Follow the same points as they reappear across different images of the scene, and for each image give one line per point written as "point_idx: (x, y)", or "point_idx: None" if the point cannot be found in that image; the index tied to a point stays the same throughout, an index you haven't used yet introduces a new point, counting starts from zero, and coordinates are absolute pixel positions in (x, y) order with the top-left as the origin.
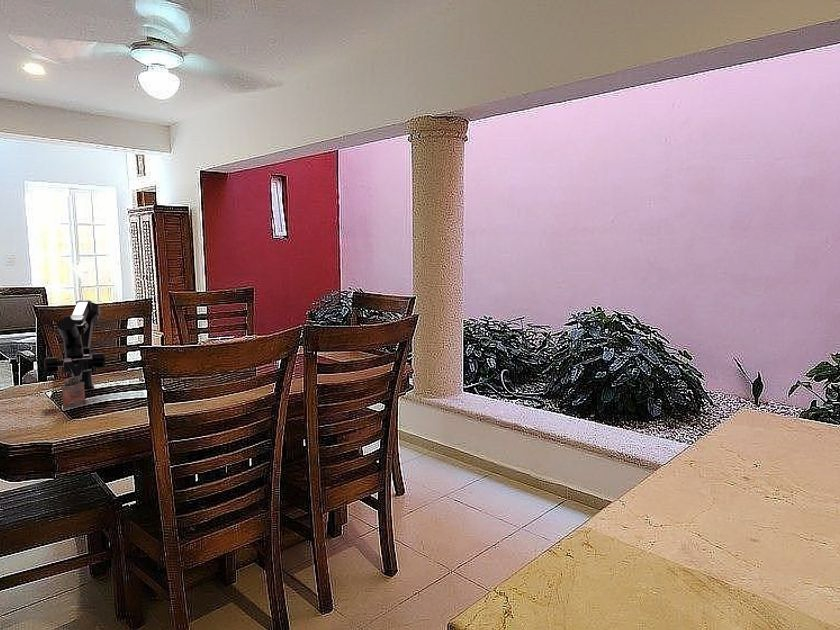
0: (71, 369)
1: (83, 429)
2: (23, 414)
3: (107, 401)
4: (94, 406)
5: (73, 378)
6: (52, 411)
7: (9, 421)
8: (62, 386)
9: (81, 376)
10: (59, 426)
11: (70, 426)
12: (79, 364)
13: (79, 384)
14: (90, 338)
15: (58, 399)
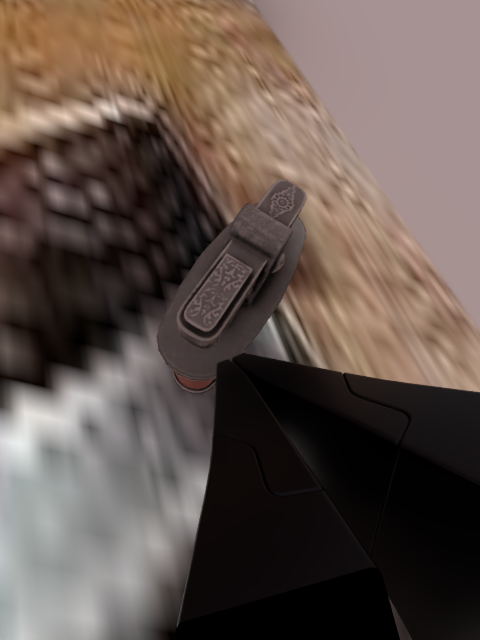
0: (392, 382)
1: (84, 8)
2: (370, 238)
3: (39, 381)
4: (103, 278)
5: (237, 221)
6: None
7: (362, 167)
8: (294, 222)
9: (178, 318)
10: (172, 60)
11: (135, 47)
12: (321, 563)
13: (185, 278)
14: None
15: None
